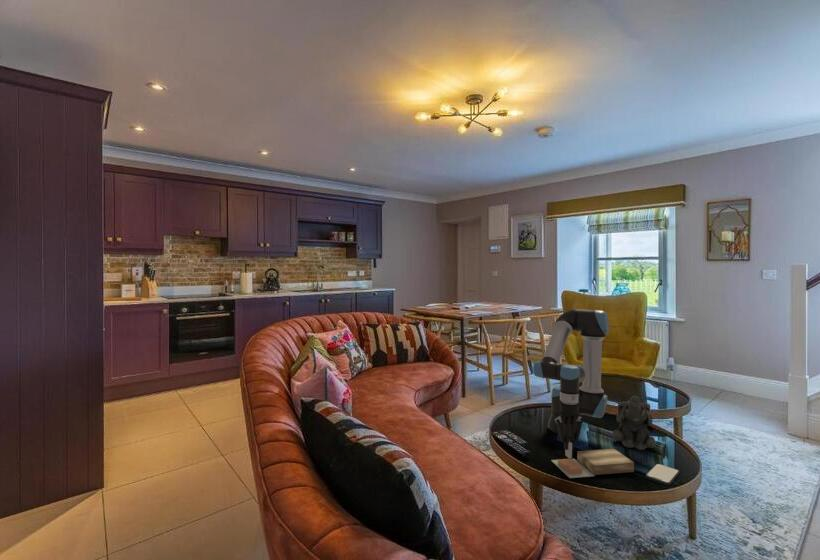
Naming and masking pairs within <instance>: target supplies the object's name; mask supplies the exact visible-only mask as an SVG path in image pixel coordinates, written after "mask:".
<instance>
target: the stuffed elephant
mask: <svg viewBox="0 0 820 560" xmlns="http://www.w3.org/2000/svg"><path fill="white" fill-rule="evenodd" d="M650 410H651V405H650V403H646V402H645V403H644V402H641V398H640V397H639V396H637V395H633V396H631V397H630V398H629V400H627V401H619V402H618V403H617V415H616V418H615V420H616V422H617V423H618V424H619V425H618V427H617V429H614V430H612V433H611V434H612V438H613V439H614V440H615V441H616V442H619V443H621V444H622V445H623V447H625V448H626V449H627V448H628V449H632V448H635V449H636V450H639V451H645V450H646V448H647V449H651V448H654V447H655V445H656V439H655V438H654V437H653V436H650V435H651V434H650V432H649V429H648V426H652V425H651V418H650V415H651V414H650ZM647 425H648V426H647Z"/></svg>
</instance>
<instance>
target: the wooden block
mask: <svg viewBox="0 0 820 560" xmlns="http://www.w3.org/2000/svg"><path fill="white" fill-rule="evenodd" d="M576 452H577V454H576V455H577V456H576V460H577V461H578V462H579V463H580V464H581V465H583V466H584V467H585V468H586V469H587V470H588V471H590V472H591V473H592V474H593V475H594V476H596V475H598V476H599V475H611V474H623V473H633V472H635V462H634V461H633V460H631V459H630V458H628V457H627V456H625V455H624V454H622V453H621V452H620V451H618V450H616V449H615V448H605V449H593V450H592V449H591V450H590V449H589V450H577V451H576Z"/></svg>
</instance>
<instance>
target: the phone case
mask: <svg viewBox="0 0 820 560" xmlns="http://www.w3.org/2000/svg"><path fill="white" fill-rule="evenodd" d="M679 475H680V470H679V469H676V468H673V467H670V466H668V465H667V466H666V465H663V464H660V463H656V464H655V465H654V466H653V467H652V468H650V469H649V471H648V472H647V473H646V474H645V479H647V480H649V481H652V482H655V483H658V484H661V485H664V486H666V487H667V486H668V487H670V486H671V485H672V483H674V481H675V480H676V478H678V476H679Z"/></svg>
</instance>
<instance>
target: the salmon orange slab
mask: <svg viewBox="0 0 820 560" xmlns="http://www.w3.org/2000/svg"><path fill="white" fill-rule="evenodd" d="M572 459H573V458H561V459H559V458H558V459H557V460H558V464H559V465H560V466H561V467H562V468H563V469H564V470H565V471H566V472H567V473H568V474H579V473H583V468H581V467H580V466H579V465H578V464H577V463H575V462H574V461H573V460H572Z"/></svg>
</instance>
